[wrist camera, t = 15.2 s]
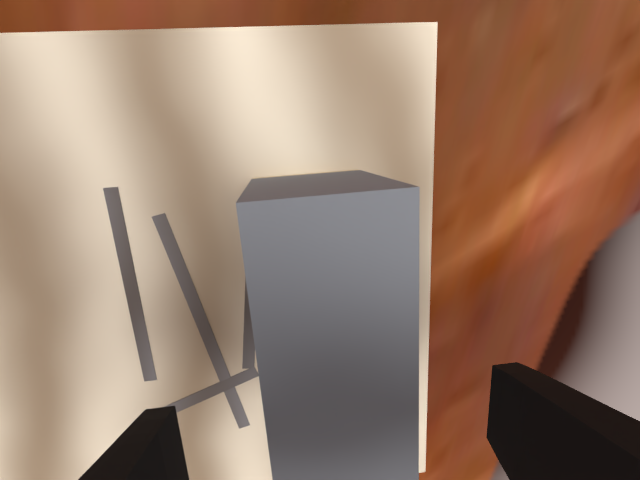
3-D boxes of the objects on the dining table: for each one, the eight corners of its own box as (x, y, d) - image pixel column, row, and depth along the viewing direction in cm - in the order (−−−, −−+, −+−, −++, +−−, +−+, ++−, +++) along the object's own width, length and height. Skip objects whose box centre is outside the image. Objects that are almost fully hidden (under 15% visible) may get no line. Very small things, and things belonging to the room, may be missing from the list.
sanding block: (277, 385, 16) (278, 526, 10) (252, 178, 13) (235, 202, 8) (366, 373, 16) (418, 501, 10) (358, 169, 14) (419, 186, 8)
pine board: (11, 511, 17) (-9, 538, 16) (-158, 48, 12) (-206, 38, 11) (416, 452, 19) (425, 472, 18) (424, 32, 14) (438, 21, 13)
